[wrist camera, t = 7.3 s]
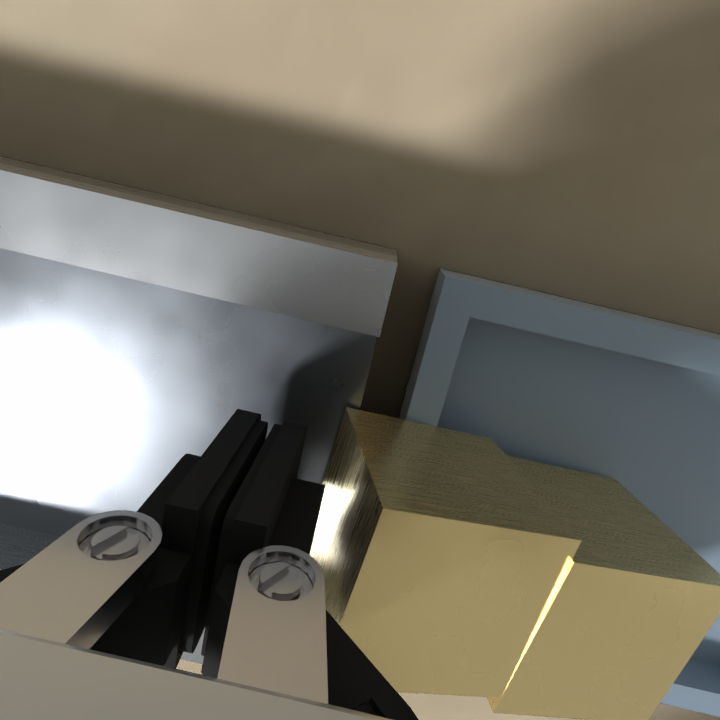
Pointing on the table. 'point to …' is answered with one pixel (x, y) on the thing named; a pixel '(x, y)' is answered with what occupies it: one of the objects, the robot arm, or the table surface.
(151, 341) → the channel plate
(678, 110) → the table surface
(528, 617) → the yellow cube
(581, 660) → the tan yellow cube
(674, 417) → the tray
